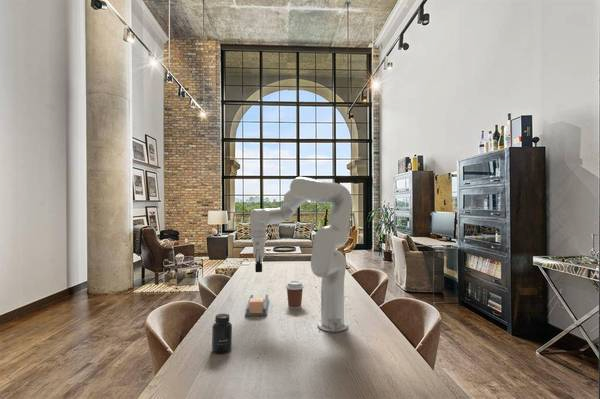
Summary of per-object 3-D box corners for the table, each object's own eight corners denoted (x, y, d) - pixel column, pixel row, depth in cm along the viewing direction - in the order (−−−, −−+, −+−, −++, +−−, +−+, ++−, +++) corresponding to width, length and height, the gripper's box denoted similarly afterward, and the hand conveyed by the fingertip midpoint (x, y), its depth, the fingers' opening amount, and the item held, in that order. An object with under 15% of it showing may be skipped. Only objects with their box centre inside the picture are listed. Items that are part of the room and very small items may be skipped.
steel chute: (266, 316, 150) (266, 308, 150) (244, 316, 149) (244, 308, 149) (269, 301, 172) (269, 294, 172) (249, 301, 171) (249, 294, 171)
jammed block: (262, 313, 150) (262, 302, 150) (249, 313, 150) (249, 302, 150) (263, 308, 156) (263, 298, 156) (250, 308, 156) (250, 298, 156)
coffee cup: (288, 310, 158) (288, 285, 158) (283, 304, 166) (283, 281, 166) (306, 308, 161) (306, 283, 161) (300, 303, 169) (300, 279, 169)
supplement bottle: (221, 356, 111) (221, 320, 111) (207, 351, 115) (207, 316, 115) (235, 348, 117) (236, 314, 117) (222, 343, 121) (222, 311, 121)
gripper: (265, 235, 154) (265, 275, 154) (266, 232, 169) (267, 268, 169) (248, 235, 154) (249, 275, 154) (252, 233, 169) (252, 269, 169)
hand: (258, 271), depth 161 cm, fingers closed
